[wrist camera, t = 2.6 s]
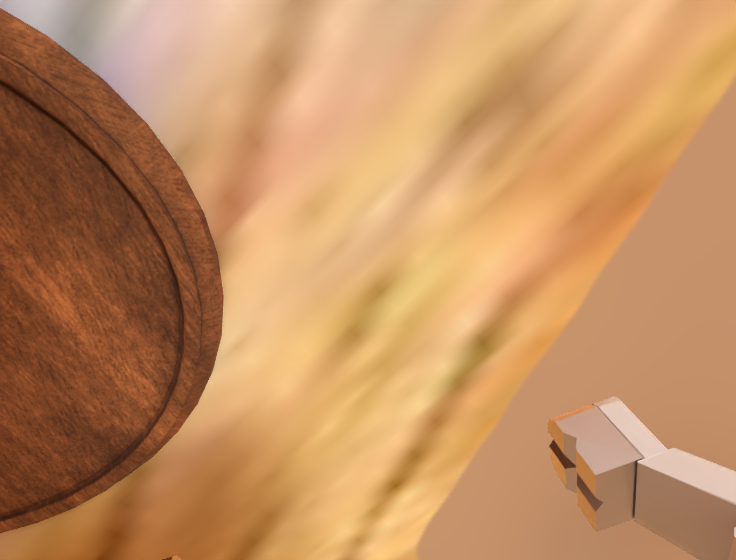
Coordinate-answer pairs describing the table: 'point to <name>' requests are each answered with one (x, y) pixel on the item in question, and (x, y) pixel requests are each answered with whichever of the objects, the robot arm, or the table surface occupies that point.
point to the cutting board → (91, 284)
